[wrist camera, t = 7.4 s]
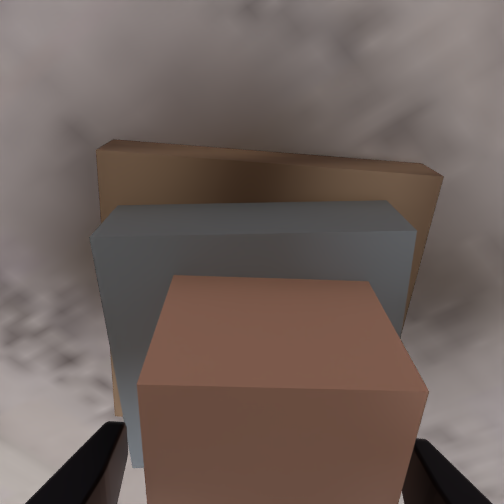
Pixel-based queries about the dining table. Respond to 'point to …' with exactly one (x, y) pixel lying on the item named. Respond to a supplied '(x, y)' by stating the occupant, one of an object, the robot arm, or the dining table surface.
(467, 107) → the dining table surface
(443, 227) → the dining table surface
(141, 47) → the dining table surface
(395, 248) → the slate top block
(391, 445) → the terracotta block
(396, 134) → the dining table surface
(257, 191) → the walnut base block
